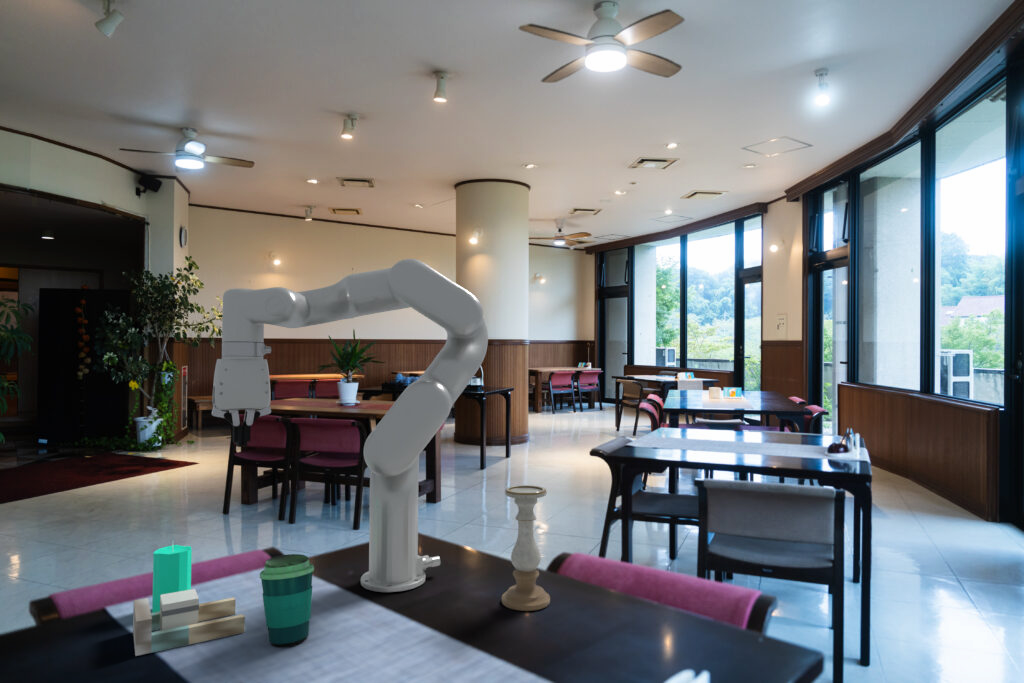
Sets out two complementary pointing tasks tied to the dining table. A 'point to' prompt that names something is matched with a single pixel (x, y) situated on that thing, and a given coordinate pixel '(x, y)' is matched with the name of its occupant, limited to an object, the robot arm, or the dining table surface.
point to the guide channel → (186, 634)
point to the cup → (287, 598)
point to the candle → (170, 572)
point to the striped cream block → (178, 609)
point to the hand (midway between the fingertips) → (241, 445)
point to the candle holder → (525, 553)
